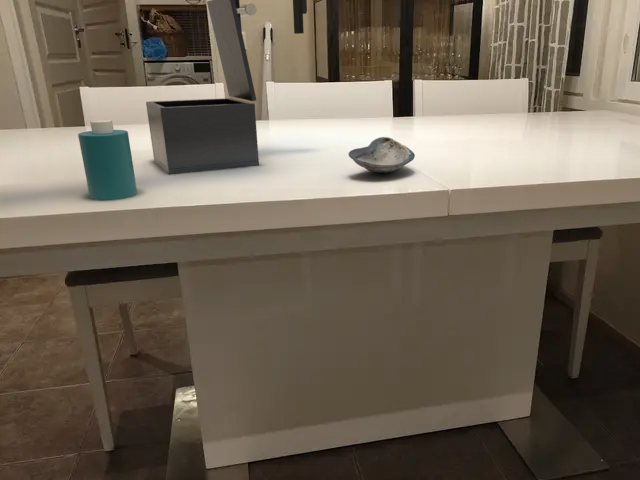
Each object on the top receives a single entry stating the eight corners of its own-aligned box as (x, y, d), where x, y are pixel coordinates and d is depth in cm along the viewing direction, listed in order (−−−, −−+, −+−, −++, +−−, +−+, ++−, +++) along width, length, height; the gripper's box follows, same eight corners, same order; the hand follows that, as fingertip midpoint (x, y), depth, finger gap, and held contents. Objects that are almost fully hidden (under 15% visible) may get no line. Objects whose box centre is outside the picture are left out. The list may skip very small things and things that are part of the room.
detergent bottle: (92, 203, 77) (77, 124, 73) (88, 193, 82) (74, 119, 78) (140, 197, 80) (129, 121, 76) (133, 188, 85) (122, 117, 81)
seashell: (332, 166, 101) (332, 138, 99) (397, 162, 105) (397, 135, 103) (356, 184, 88) (356, 152, 86) (429, 179, 91) (431, 148, 89)
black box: (169, 175, 95) (160, 107, 91) (154, 161, 106) (145, 101, 102) (259, 166, 102) (254, 103, 98) (236, 154, 113) (231, 98, 109)
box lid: (229, -5, 90) (261, -10, 92) (206, 1, 102) (235, -3, 104) (252, 101, 98) (281, 94, 100) (229, 96, 109) (255, 90, 111)
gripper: (314, -96, 102) (318, 34, 110) (184, -112, 92) (199, 32, 100) (332, -105, 96) (335, 33, 104) (195, -124, 85) (210, 31, 94)
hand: (268, 33), depth 102 cm, fingers open, 11 cm apart
